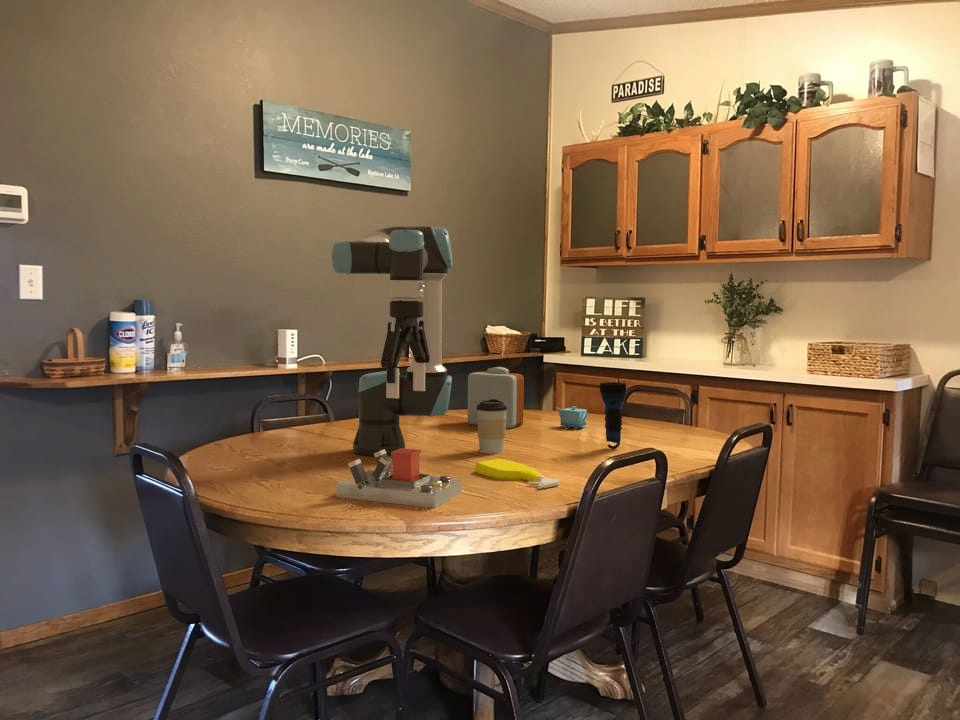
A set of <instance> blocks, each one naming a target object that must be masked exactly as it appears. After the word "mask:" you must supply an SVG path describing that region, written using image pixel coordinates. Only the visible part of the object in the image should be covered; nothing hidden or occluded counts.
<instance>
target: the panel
mask: <svg viewBox="0 0 960 720" xmlns="http://www.w3.org/2000/svg"><path fill="white" fill-rule="evenodd" d="M374 471H375V470H367V471H365V473H366V475H367V478H368V480H366V481H363V482H361V483H359V484H356V482H355V480H354V477H353V476H352V477H350V478H347V479H344V480H342V481H340V482H338V483H336V485H335V487H336V498H342V499H350V500H360V501H369V502H377V503H378V502H379V503H385V504H386V503H387V504H396V505H404V506H415V507H421V508H422V507H423V508H424V507H425V508H430V509H431V508H432V509H436V508H437V507H439V506H441V505H442V504H444V503H446V502H447V501H449V500H450V499H453V498H454V497H455V496H457V495H459V494H461V492H462V478H454V477H453V478H451V476H450V475H441V476H432V475H431V476H430V474H427V473H426V474H424V473H419V478H418V479H416V480H414V481H405V480H395V479H393V469H391V470H389V471H386V473H385V475H384V477H383V478H381V479H379V480H378V479H376V478H375V477H373V476H372V475H373V473H374Z"/></svg>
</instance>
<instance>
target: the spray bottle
mask: <svg viewBox="0 0 960 720" xmlns="http://www.w3.org/2000/svg"><path fill="white" fill-rule="evenodd" d="M474 470H475V472H476V473H477V474H479V475H482V476H485V477H489V478H490V479H496V480H501V481H502V480H503V481H516V480H517V481H518V480H519V481H521V480H522V481H527V484H530V485H536V487H537V489H538V490H540V489H541V490H542V489H548V488H551V487H552V488H553V487H556V486H559V485H560V479H559V478H557V479H556V478H551V477H550V478H549V477H548V476H547V477H546V476H545V475H543V474H542V473H541V472H538V471H536V470H535V469H534V467H531V466H530V465H529V466H528V465H526V464H523V463H519V462H517V461H512V460H510V459H509V460H508V459H505V458H495V459H489V460H483V461H482V460H481V461H478V462H477V463H476V465H475V467H474Z"/></svg>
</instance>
